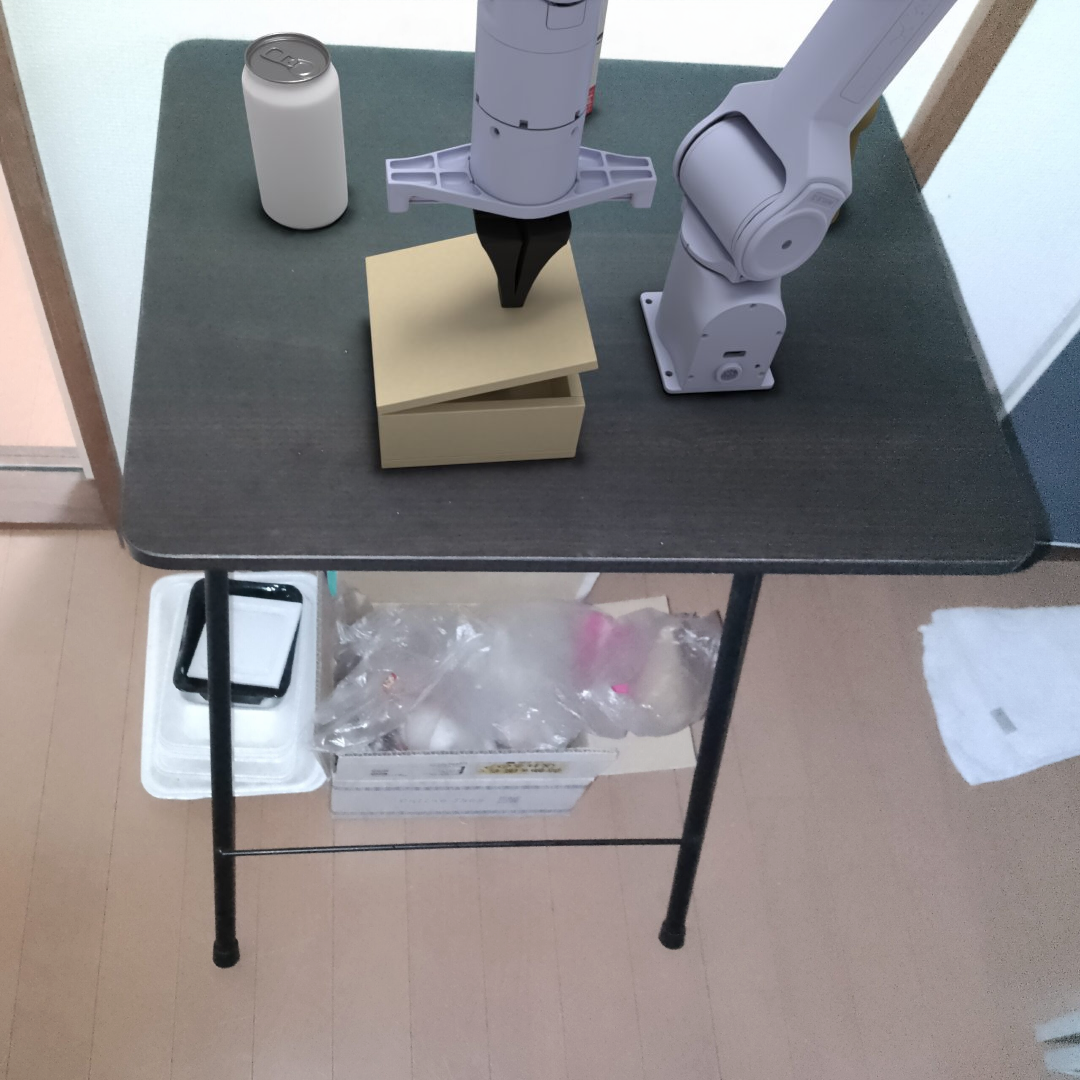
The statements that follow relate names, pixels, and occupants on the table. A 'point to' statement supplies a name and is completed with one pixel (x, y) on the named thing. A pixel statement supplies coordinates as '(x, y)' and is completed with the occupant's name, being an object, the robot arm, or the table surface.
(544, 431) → the beige box
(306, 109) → the can
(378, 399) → the box lid
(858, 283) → the table surface
